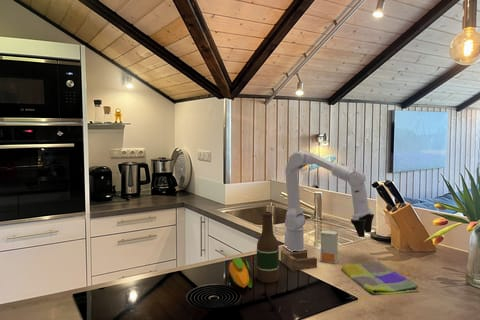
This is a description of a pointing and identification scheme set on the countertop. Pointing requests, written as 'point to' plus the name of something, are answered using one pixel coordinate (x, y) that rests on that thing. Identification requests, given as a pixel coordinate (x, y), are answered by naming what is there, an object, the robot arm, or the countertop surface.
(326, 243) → the skincare box
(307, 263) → the caddy
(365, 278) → the dish towel
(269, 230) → the beer bottle
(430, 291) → the countertop surface
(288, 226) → the robot arm
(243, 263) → the corn
